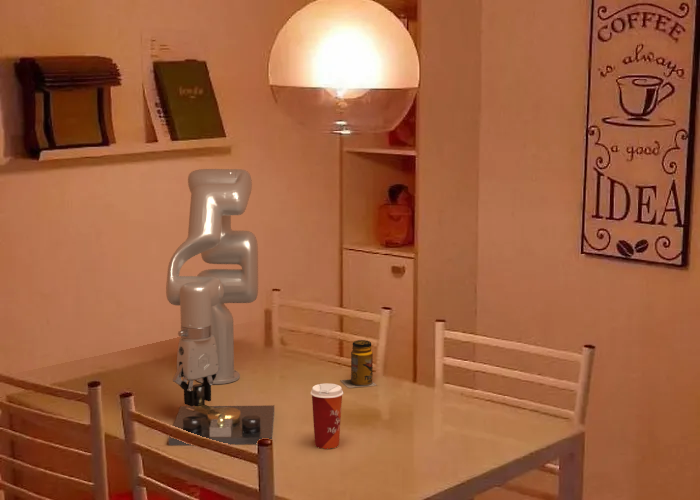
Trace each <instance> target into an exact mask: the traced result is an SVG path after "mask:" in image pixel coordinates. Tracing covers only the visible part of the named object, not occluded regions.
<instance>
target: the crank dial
mask: <svg viewBox="0 0 700 500" xmlns="http://www.w3.org/2000/svg"><path fill="white" fill-rule="evenodd" d="M192 390H193V391H194V407H195V411H198V412H201V413H203V414H206V415H207V416H208V422H209V423H210V424H211V420H212V419H218V417H219V415H220V414H224V415H225V419H233V424H236V423H238V422H239V421H240V410H238V409H236V408H231V407H220V408H213V407H210V406H211V405H207V404H206V400H205V386H204V385H203V383H196V384H193V387H192Z"/></svg>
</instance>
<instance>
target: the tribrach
mask: <svg viewBox="0 0 700 500" xmlns="http://www.w3.org/2000/svg"><path fill="white" fill-rule="evenodd" d="M209 406H210V407H213V408H220V407H231V408H236V409H238V410H240V421H239V422H238V423H236V424H233V419H225V415H224V414H220V415H219V417H218V419H212V420H211V424H210V423H209V422H208V416H207V415H206V414H203V413H201V412H198V411H195V407H194V406H189V405H186V406H183V405H182V406H180V407H179V410H178V413H177V414H176V418H175V421H174V423H173V426H175V427H178V428H181V429H183V430H186V431H188V432H191V433H194V434H197V435H200V436H202V437H206V438H209V439H212V440H216V441H219V442H223V443H228V444H230V445H231V444H235V445H257V444H256V443H257V441H258V440H259V439H262V438H269V439H272V440H273V434H274V433H273V432H274V420H275V419H274V418H275V404H274V405H212V406H211V405H209ZM168 446H190V445H189V444H186V443H184V442H182V441H179V440H177V439H174V438H171V437H170V436H169V437H168Z"/></svg>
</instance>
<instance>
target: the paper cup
mask: <svg viewBox="0 0 700 500" xmlns="http://www.w3.org/2000/svg"><path fill="white" fill-rule="evenodd" d="M310 395H311V399H312V400H311V401H312V402H311V403H312V420H313V434H314V436H313V437H314V445H316V446H315V447H316V448H318V447H319V448H318V449H321V448H324V449H323V450H331V449H330V448H333V449H336V448H338V447H339V446H338V445H340V434H341V421H342V420H341V418H342V403H343V401H342V400H343V395H344V391H343V388H342V386H341V385H340V384H339V385H338V384H335V383H320V384H319V383H318V384H315V385H314V386H312V388H311V390H310ZM337 446H338V447H337ZM335 447H336V448H335ZM327 448H328V449H327Z"/></svg>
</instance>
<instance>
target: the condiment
mask: <svg viewBox="0 0 700 500" xmlns="http://www.w3.org/2000/svg"><path fill="white" fill-rule="evenodd" d="M373 356H374V354H373V350H372V342H371V341H370V340H365V339H361V340H360V339H359V340H354V341H353V342H352V350H351V352H350V379H341V380H340V382H341V383H342V384H343V385H344V386H345V387H346V388H348V389H351V388H353V389H354V388H362V387H363V388H366V387H374V386H377V385H378V384H376V383H375V382H374V381H373V374H374V373H373V360H374V359H373V358H374V357H373Z"/></svg>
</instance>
